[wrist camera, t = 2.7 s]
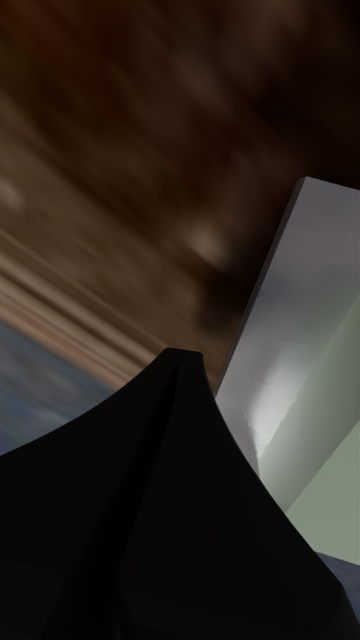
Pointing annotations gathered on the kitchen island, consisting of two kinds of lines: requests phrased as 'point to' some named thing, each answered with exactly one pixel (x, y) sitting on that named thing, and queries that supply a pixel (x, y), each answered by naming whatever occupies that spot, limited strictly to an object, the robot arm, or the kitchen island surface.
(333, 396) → the pale green block
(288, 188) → the kitchen island surface
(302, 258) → the chassis
